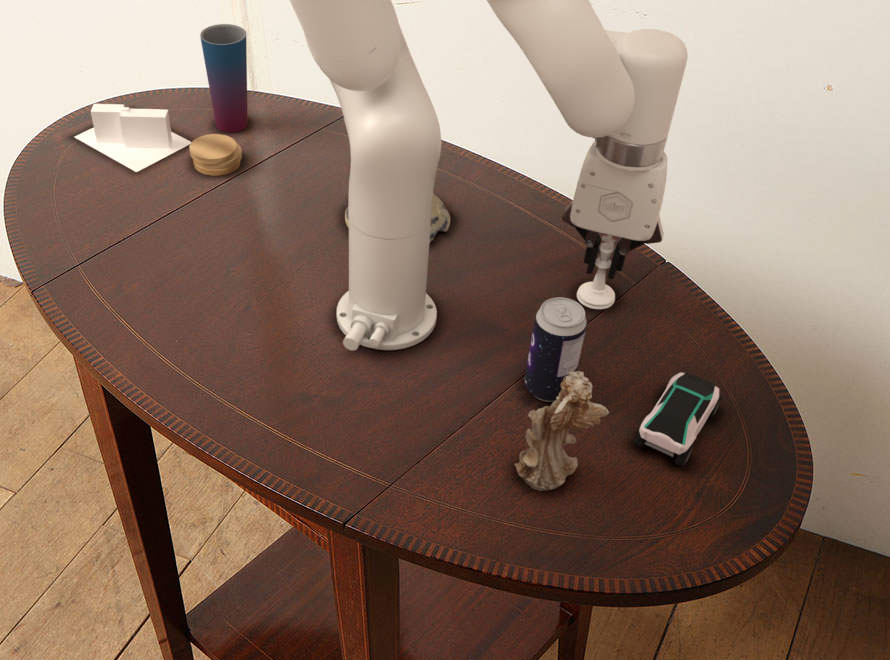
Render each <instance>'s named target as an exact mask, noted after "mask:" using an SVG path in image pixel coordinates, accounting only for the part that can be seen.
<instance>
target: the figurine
mask: <svg viewBox="0 0 890 660" xmlns="http://www.w3.org/2000/svg"><path fill="white" fill-rule="evenodd" d="M568 374H569V375H568V376H565V377H564V379H563V381H562V383H561V388H562V390H561V392H560V393H559V396H558V397H556V400H555V401H554V402H551V404H550V406H549V405H545V406H544V407H540V408H538V409H536V410H535V409H532V410H529V412H528V414H527V416H528V417H529V418H530V419H531V428H532V429H531V428H527V429H526V432H525V440H526V444H527V445H528V447H529V448H527V449H525V450H521V451H520V453H519V455H518V460H519V462H516V463H514V464H513V465H514V466H515V468H516V472H517V474H518V476H519V477H521V478H522V479H523V481H524V483H525V484H526V485H528V486H529V487H530V488H531V489H533V490H537V491H540V492H541V491H554V490H555V489H558V488H559V487H560V486H562V485H563V484H564V483H565V482H566V479H567V477H568V476H570V475H572V474H573V473H575V471H576V469H577V468H578V466H579V463H578V458H577V457H575V456H574V457H572V456H569V455H568V454H567V453H566V451H565V447H564V446H565V445H568V444H570V445H575V443H577V438H576V436H574V434H572V433H570V430H571V431H580V430H587V429H588V428H589V427H591V428H594V427H595V425H600V424H601V419H600V418H603V417H607V416H608V415H609V414H610V412H609V410H608V408H607V407H606V406H604V405H603V404H600V403H596V402H593V401H590V399H592V398H593V395H592V392H593V384H592V381H590V379H589V378H588V377H587V376H585V372H584V371H581V370H577V371H576V372H574V371H570V372H569V373H568Z"/></svg>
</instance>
